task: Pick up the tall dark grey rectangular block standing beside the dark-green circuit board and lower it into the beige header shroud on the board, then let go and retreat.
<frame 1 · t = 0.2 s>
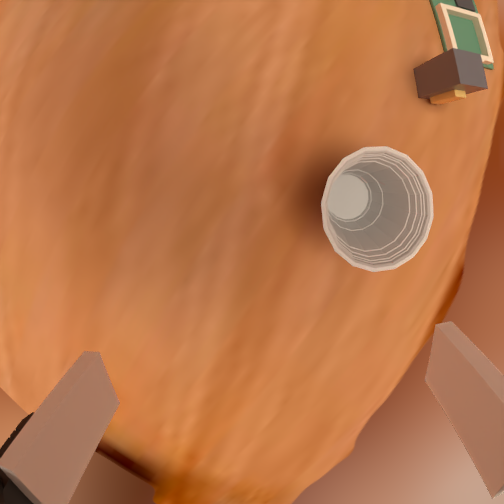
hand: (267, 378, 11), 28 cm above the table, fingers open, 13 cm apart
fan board: (459, 25, 28), on the table
dark grey rectangular block: (429, 84, 32), on the table
plastic cup: (347, 194, 37), on the table
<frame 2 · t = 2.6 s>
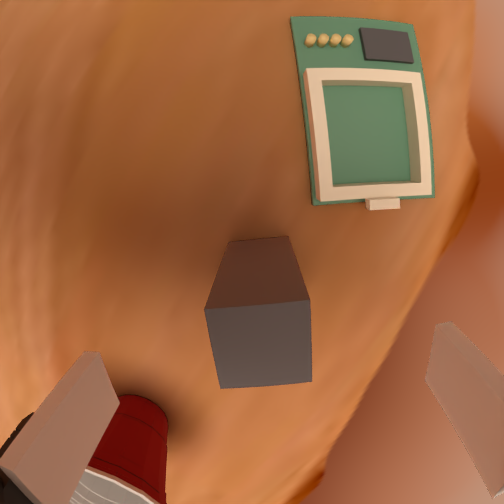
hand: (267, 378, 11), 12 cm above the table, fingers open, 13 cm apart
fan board: (368, 105, 19), on the table
dark grey rectangular block: (261, 267, 22), on the table
plastic cup: (141, 412, 27), on the table
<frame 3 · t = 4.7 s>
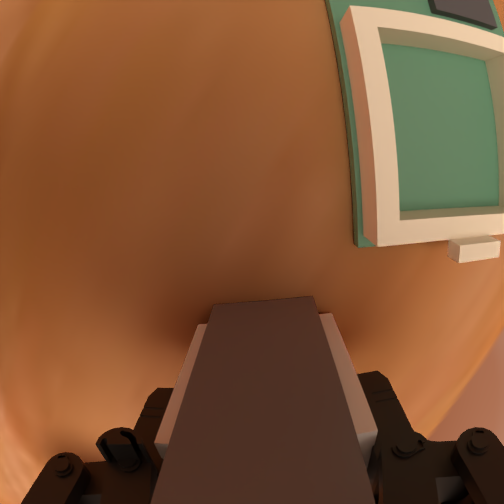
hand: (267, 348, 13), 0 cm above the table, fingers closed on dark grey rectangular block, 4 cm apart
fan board: (440, 81, 10), on the table
dark grey rectangular block: (267, 342, 13), on the table, touching gripper
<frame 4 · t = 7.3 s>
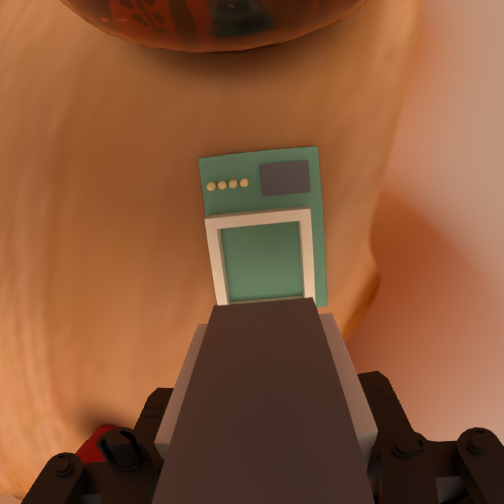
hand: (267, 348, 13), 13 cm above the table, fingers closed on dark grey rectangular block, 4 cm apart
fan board: (266, 234, 25), on the table
dark grey rectangular block: (267, 343, 13), point 13 cm above the table, touching gripper
plastic cup: (118, 437, 33), on the table
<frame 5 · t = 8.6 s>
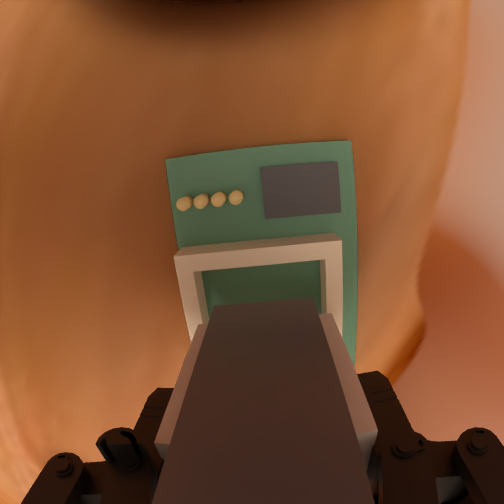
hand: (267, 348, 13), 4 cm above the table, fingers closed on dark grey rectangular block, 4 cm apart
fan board: (271, 274, 17), on the table
dark grey rectangular block: (267, 343, 13), point 4 cm above the table, touching gripper
when the fingers open (3 cm above the table, at t = 9.7 s): dark grey rectangular block drops 2 cm, resting on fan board.
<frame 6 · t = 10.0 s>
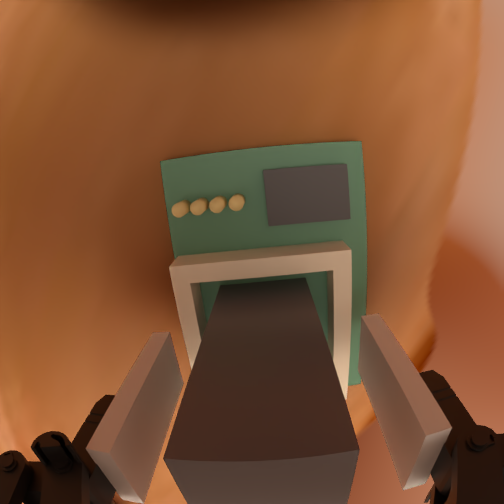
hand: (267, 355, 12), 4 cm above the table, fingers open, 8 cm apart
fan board: (274, 284, 16), on the table
dark grey rectangular block: (266, 319, 15), point 1 cm above the table, touching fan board
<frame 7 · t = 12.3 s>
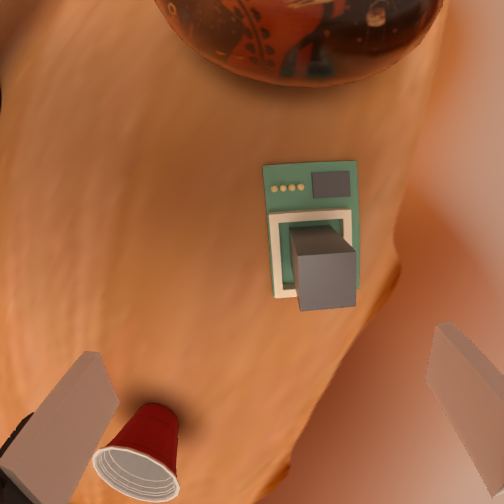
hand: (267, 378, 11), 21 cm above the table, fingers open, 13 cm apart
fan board: (314, 229, 31), on the table
dark grey rectangular block: (310, 246, 31), point 1 cm above the table, touching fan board
amphora vase: (289, 16, 26), on the table
plastic cup: (159, 415, 39), on the table
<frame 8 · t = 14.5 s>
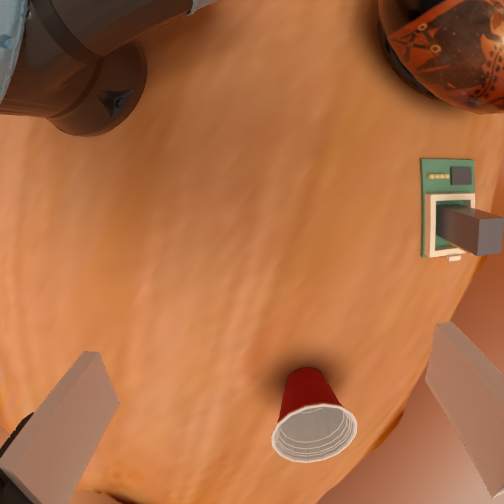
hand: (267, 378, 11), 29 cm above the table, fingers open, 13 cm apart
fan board: (448, 206, 37), on the table
dark grey rectangular block: (447, 219, 37), point 1 cm above the table, touching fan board
amphora vase: (428, 47, 31), on the table
plastic cup: (306, 380, 45), on the table
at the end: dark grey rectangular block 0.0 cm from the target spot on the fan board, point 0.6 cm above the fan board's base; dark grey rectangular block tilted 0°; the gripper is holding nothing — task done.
